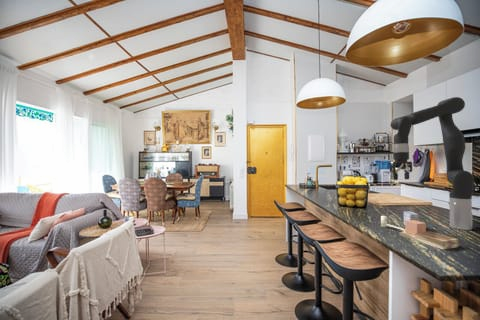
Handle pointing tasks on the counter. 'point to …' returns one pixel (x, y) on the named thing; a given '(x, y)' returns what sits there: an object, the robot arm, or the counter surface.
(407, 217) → the medicine box
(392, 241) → the counter surface
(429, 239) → the lane board
